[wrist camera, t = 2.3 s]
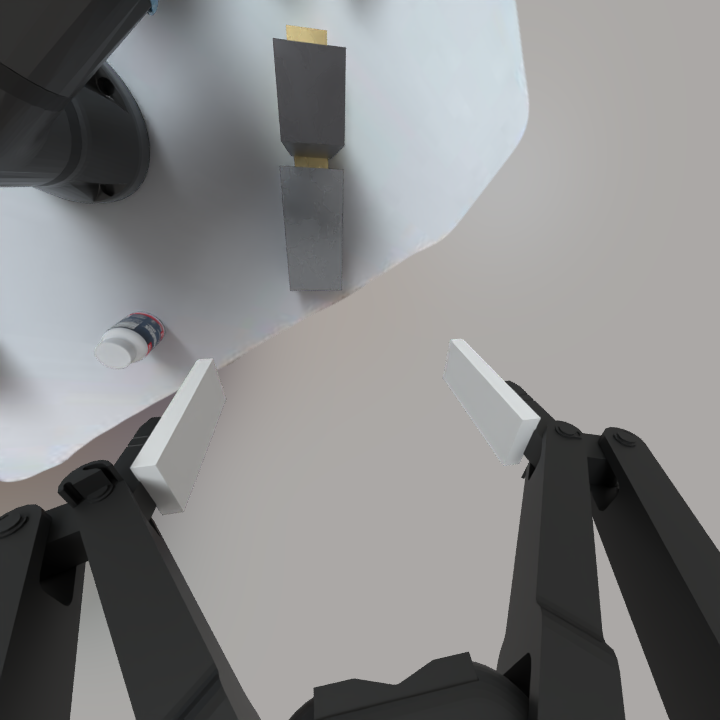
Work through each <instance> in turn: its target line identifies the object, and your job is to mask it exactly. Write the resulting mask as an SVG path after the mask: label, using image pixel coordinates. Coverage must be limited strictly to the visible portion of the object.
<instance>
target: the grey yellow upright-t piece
mask: <svg viewBox="0 0 720 720" xmlns="http://www.w3.org/2000/svg"><path fill="white" fill-rule="evenodd" d="M286 32H287V40H284V39H276V38H273V48H274V60H275V73H276V85H277V97H278V110H279V122H280V135H281V142H282V143H283V145H284V146H285V148H286V149H287V151H288V152H289V154H290V155H291V156H294V160H295V167H309V168H324V169H328V159H332V158H333V157H334V156H335V155H336V154H337V153H338V152H339V151H340V150H341V149H342V148H343V147H344V138H345V67H346V48H345V47H337V46H330V45H327V31H326V30H319V29H312V28H304V27H297V26H290V25H286Z"/></svg>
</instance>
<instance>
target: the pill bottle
mask: <svg viewBox="0 0 720 720" xmlns="http://www.w3.org/2000/svg"><path fill="white" fill-rule="evenodd" d="M164 334H165V329H164V326H163V324H162V323H161V321H160V320H159V319H157V318H156V317H155V316H153V315H151V314H148V313H145V312H135V313H132V314H130V315H128V316H127V317H126V318H124V319H123V320H121V321H120V322H119V323H117V324H116V325H114V326H113V327H112V328H110V329H109V330H108V331H107V332H105V333H104V335H103V337H102V340H101V343H100V344H98V345H97V346H96V348H95V350H94V354H95V357H96V359H97V360H98V361H99V362H100V363H101V364H103V365H105V366H107V367H109V368H113V369H123V368H126V367H128V366H129V365H130V364H131V363H133V362H138V361H140V360H142V359H143V358H144V357H146V356H147V355H148V353H149V352H150V351H151V350H152V349H153V348H154V347H155V346H156V345H157V344H158V343H159V342H160V341H161V340H162V338H163V337H164Z"/></svg>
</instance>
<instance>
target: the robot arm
mask: <svg viewBox="0 0 720 720" xmlns="http://www.w3.org/2000/svg"><path fill="white" fill-rule="evenodd" d="M157 6H158V0H0V187H34V188H37V189H39V190H42V191H45V192H47V193H50V194H52V195H55V196H58V197H60V198H64V199H67V200H71V201H76V202H81V203H105V202H113V201H118V200H121V199H123V198H126V197H127V196H129V195H131V194H132V193H133V192H135V191H136V190H137V189H138V188H139V186H140V185H141V184H142V182H143V180H144V178H145V176H146V173H147V170H148V166H149V158H150V148H149V139H148V134H147V130H146V126H145V123H144V120H143V118H142V115H141V112H140V110H139V108H138V106H137V104H136V102H135V100H134V98H133V96H132V95H131V93H130V91H129V90H128V88H127V87H126V85H125V84H124V82H123V81H122V80H121V78H120V77H119V76H118V75H117V73H116V72H115V71H114V70H113V69H112V67H111V66H110V65H109V64H108V63H107V62H106V60H107V59H108V57H109V56H110V55H111V54H112V53H113V52H114V50H115V49H116V48H117V47H118V46H119V45H120V43H121V42H122V41H123V40H124V39H125V38H126V36H127V35H128V34H129V33H130V32H131V31H132V29H133V28H134V27H135V26H136V25H137V24H138V22H139V21H140V20H141V19H142V18H143V17H144V15H145V14H146V13H148V14H149V15H153V14H154V13H155V12H156V10H157ZM443 379H444V380H445V382H446V383H447V385H448V386H449V387H450V389H451V391H452V392H453V393H454V395H455V396H456V398H457V399H458V401H459V402H460V403H461V405H462V407H463V408H464V409H465V411H466V412H467V414H468V415H469V417H470V418H471V420H472V421H473V422H474V424H475V425H476V427H477V428H478V430H479V431H480V433H481V434H482V435H483V437H484V439H485V440H486V441H487V443H488V444H489V446H490V447H491V449H492V450H493V452H494V453H495V455H496V456H497V457H498V459H499V460H500V462H501V463H502V465H503V466H507V465H514V464H519V463H520V461H521V459H522V457H523V455H525V456H526V458H527V459H528V460H529V463H528V466H527V467H526V469H525V471H524V473H523V475H522V478H525V485H524V493H523V501H522V509H521V516H520V524H519V532H518V540H517V548H516V556H515V564H514V572H513V580H512V588H511V596H510V604H509V611H508V619H507V627H506V634H505V638H504V642H503V645H502V648H501V650H500V655H499V659H498V664H497V670H493V669H492V668H490V667H487V666H486V665H483V664H480V663H477V662H472V660H471V657H470V654H469V652H465V653H461V654H457V655H452V656H448V657H444V658H440V659H435V660H432V661H431V662H430V663H428V664H427V665H425V666H424V667H422V668H421V669H419V670H418V671H417V672H415V673H414V674H412V675H411V676H410V677H408V678H407V679H405V680H404V681H402V682H401V683H399V684H397V685H391V684H385V683H379V682H372V681H366V680H360V679H350V680H345V681H341V682H337V683H333V684H328V685H324V686H319V687H315V688H314V697H313V698H312V699H310V700H309V701H307V702H306V703H305V704H304V705H303V706H302V707H300V708H299V709H298V710H297V711H296V712H295V713H294V714H293V715H292V717H291V718H290V719H289V720H625V713H624V704H623V696H622V686H621V678H620V670H619V665H618V660H617V657H616V655H615V653H614V651H613V649H612V648H611V647H609V646H608V645H607V644H606V643H605V640H604V638H603V632H602V623H601V611H600V599H599V588H598V577H597V565H596V554H595V543H594V531H593V520H592V517H593V519H594V522H595V524H596V527H597V530H598V532H599V535H600V538H601V540H602V543H603V546H604V548H605V551H606V554H607V556H608V558H609V561H610V564H611V567H612V569H613V572H614V575H615V577H616V580H617V583H618V585H619V588H620V590H621V593H622V596H623V598H624V601H625V604H626V606H627V609H628V612H629V614H630V617H631V620H632V622H633V625H634V627H635V630H636V633H637V635H638V638H639V641H640V643H641V646H642V649H643V651H644V654H645V656H646V659H647V662H648V664H649V667H650V669H651V672H652V675H653V678H654V680H655V683H656V685H657V688H658V691H659V693H660V696H661V699H662V701H663V704H664V707H665V709H666V712H667V714H668V717H669V719H670V720H720V552H719V551H718V549H717V548H716V546H715V545H714V543H713V542H712V540H711V539H710V538H709V536H708V535H707V533H706V532H705V530H704V529H703V527H702V526H701V524H700V523H699V521H698V520H697V518H696V517H695V516H694V514H693V513H692V511H691V510H690V508H689V507H688V505H687V504H686V502H685V501H684V499H683V498H682V497H681V495H680V494H679V493H678V491H677V489H676V488H675V486H674V485H673V483H672V482H671V481H670V479H669V478H668V476H667V475H666V473H665V472H664V470H663V469H662V467H661V466H660V464H659V463H658V462H657V460H656V459H655V457H654V456H653V454H652V453H651V451H650V450H649V449H648V447H647V446H646V444H645V443H644V442H643V441H642V440H641V439H640V438H639V437H637V436H636V435H635V434H633V433H631V432H629V431H626V430H624V429H620V428H615V427H609V428H606V429H605V431H604V432H603V434H602V435H601V436H599V435H592V434H585V433H582V432H581V431H580V430H579V429H578V428H576V427H575V426H573V425H571V424H569V423H566V422H563V421H555V420H554V419H553V418H552V417H551V416H550V415H549V414H548V413H547V412H546V411H545V410H544V409H543V408H542V407H541V406H540V405H539V404H538V403H537V402H536V401H533V399H532V398H531V397H530V396H529V395H527V393H526V392H525V391H524V390H523V389H522V388H521V387H520V386H518V385H517V384H515V383H513V382H511V381H504V380H503V379H502V378H501V377H500V376H499V375H498V374H497V373H496V372H495V371H494V370H493V369H492V368H491V367H490V366H489V365H488V364H487V363H486V362H485V361H484V360H483V359H482V358H481V357H480V356H479V355H478V354H477V353H476V352H475V351H474V350H473V349H472V348H471V347H470V346H469V345H468V344H467V343H466V342H465V341H464V340H463V339H454V340H450V344H449V349H448V354H447V360H446V364H445V369H444V375H443ZM225 401H226V396H225V393H224V390H223V387H222V384H221V381H220V378H219V375H218V372H217V369H216V366H215V363H214V360H213V358H211V359H198V360H197V361H196V363H195V364H194V366H193V367H192V369H191V371H190V372H189V374H188V376H187V377H186V379H185V380H184V382H183V384H182V385H181V387H180V388H179V390H178V392H177V393H176V395H175V397H174V398H173V400H172V401H171V403H170V404H169V406H168V408H167V410H166V411H165V413H164V414H163V416H162V417H154V418H151V419H149V420H148V421H147V422H146V423H145V424H143V425H142V426H141V427H140V428H139V430H138V431H137V433H136V434H135V435H134V438H133V439H132V440H131V441H130V443H129V444H128V447H126V449H125V450H124V452H123V453H122V455H121V456H120V457H119V459H118V460H117V462H116V463H115V465H114V466H113V465H112V464H111V463H110V462H109V461H106V460H98V461H93V462H90V463H88V464H85V465H83V466H81V467H79V468H77V469H76V470H74V471H72V472H71V473H70V474H69V475H68V476H67V477H65V478H64V479H63V481H62V482H61V484H60V485H59V487H58V493H59V495H60V496H61V497H62V498H63V499H64V500H65V501H66V502H67V504H64V505H61V506H59V507H56V508H53V509H50V510H48V511H44V510H43V509H42V508H41V507H40V506H38V505H36V504H35V505H25V506H22V507H18V508H16V509H14V510H12V511H10V512H8V513H6V514H4V515H3V516H1V517H0V720H70V712H71V702H72V692H73V682H74V672H75V662H76V652H77V642H78V632H79V623H80V613H81V603H82V593H83V583H84V572H85V563H86V561H89V563H90V567H91V570H92V573H93V577H94V580H95V584H96V587H97V590H98V594H99V597H100V600H101V604H102V607H103V611H104V614H105V617H106V620H107V624H108V627H109V630H110V634H111V637H112V641H113V644H114V647H115V651H116V654H117V657H118V660H119V664H120V667H121V671H122V674H123V678H124V681H125V684H126V688H127V691H128V694H129V698H130V701H131V704H132V708H133V711H134V714H135V717H136V720H261V719H260V717H259V716H258V714H257V712H256V711H255V709H254V707H253V706H252V704H251V703H250V701H249V700H248V698H247V696H246V695H245V693H244V691H243V689H242V687H241V685H240V683H239V682H238V680H237V678H236V676H235V674H234V672H233V670H232V668H231V667H230V664H229V663H228V661H227V659H226V657H225V655H224V653H223V651H222V649H221V647H220V645H219V644H218V642H217V640H216V638H215V636H214V634H213V632H212V631H211V628H210V626H209V625H208V623H207V621H206V619H205V617H204V615H203V613H202V612H201V609H200V607H199V606H198V604H197V602H196V600H195V598H194V596H193V594H192V592H191V591H190V588H189V587H188V585H187V583H186V581H185V579H184V577H183V575H182V573H181V572H180V569H179V568H178V566H177V564H176V562H175V560H174V558H173V556H172V554H171V552H170V550H169V549H168V547H167V545H166V543H165V541H164V539H163V538H162V535H161V533H160V532H159V530H158V528H157V526H156V524H155V522H154V520H153V519H152V518H151V516H152V514H153V512H154V510H155V508H156V507H157V508H158V510H159V511H160V513H161V514H162V515H166V514H173V513H180V512H184V511H185V508H186V505H187V503H188V500H189V497H190V495H191V492H192V489H193V486H194V484H195V481H196V479H197V476H198V473H199V470H200V468H201V465H202V463H203V460H204V457H205V454H206V452H207V449H208V447H209V444H210V441H211V439H212V436H213V433H214V431H215V428H216V425H217V423H218V420H219V417H220V415H221V412H222V409H223V407H224V404H225ZM525 476H526V477H525Z"/></svg>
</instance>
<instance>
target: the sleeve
mask: <svg viewBox="0 0 720 720" xmlns="http://www.w3.org/2000/svg"><path fill="white" fill-rule="evenodd" d="M280 177H281V188H282V200H283V212H284V223H285V235H286V246H287V258H288V270H289V281H290V291H316V290H342V221H343V170H340V169H324V168H309V167H293V166H280Z"/></svg>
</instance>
